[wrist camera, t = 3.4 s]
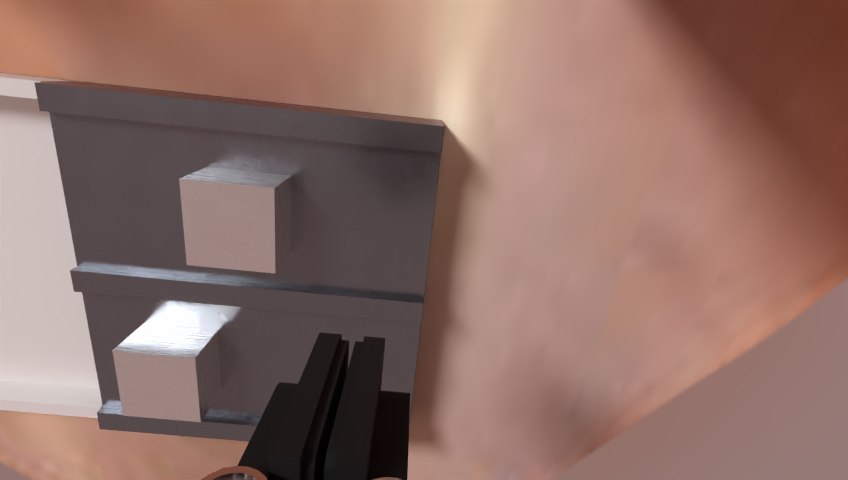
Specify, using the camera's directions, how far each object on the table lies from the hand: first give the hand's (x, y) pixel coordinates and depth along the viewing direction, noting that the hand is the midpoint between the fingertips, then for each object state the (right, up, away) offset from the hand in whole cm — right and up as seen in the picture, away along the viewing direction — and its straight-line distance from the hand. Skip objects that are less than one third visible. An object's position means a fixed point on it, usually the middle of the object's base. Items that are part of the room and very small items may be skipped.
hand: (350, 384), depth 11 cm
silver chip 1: (-7, +5, +10) cm, 13 cm away
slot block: (-7, +2, +14) cm, 16 cm away
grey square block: (-12, -3, +13) cm, 18 cm away
